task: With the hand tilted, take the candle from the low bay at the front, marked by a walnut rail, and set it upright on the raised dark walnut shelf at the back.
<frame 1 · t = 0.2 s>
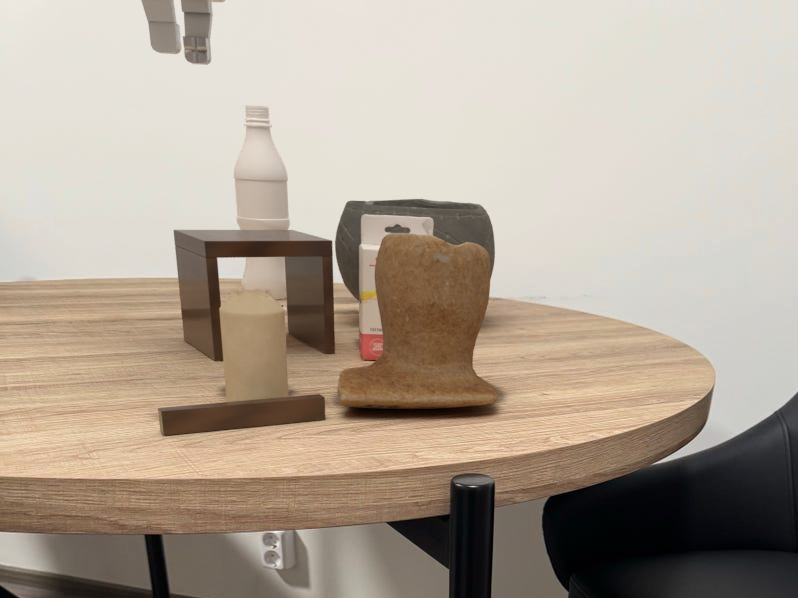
hand: (183, 58, 71), 27 cm above the table, tool pointing down, fingers open, 8 cm apart
bowl: (415, 325, 128), on the table
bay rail: (245, 425, 80), on the table
water bottle: (268, 307, 135), on the table
ink cartridge box: (397, 358, 108), on the table
shelf unit: (258, 346, 109), on the table
tan flared-base block: (415, 406, 89), on the table
candle: (258, 409, 86), on the table
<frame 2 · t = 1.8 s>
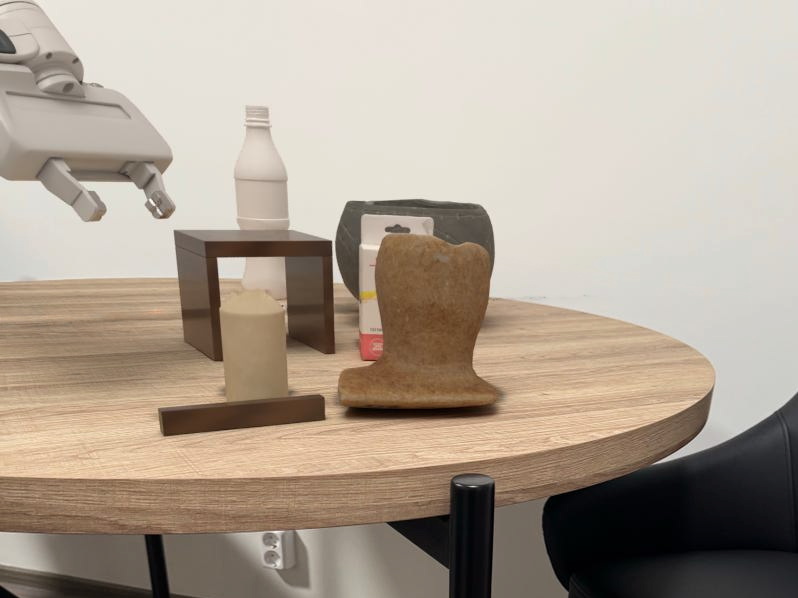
hand: (134, 215, 81), 15 cm above the table, tool tilted 45°, fingers open, 8 cm apart
nothing on the table moved.
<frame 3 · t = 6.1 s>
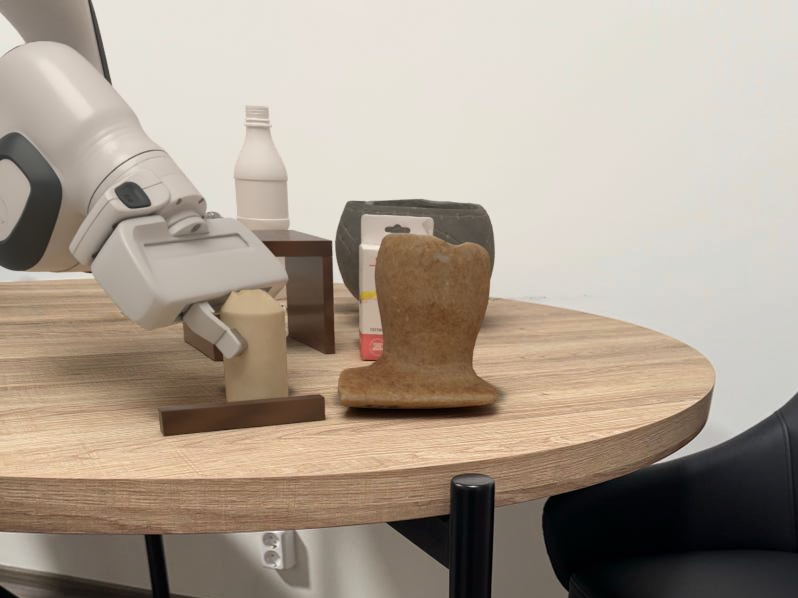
hand: (260, 346, 83), 5 cm above the table, tool tilted 45°, fingers closed on candle, 5 cm apart
candle: (258, 409, 86), on the table, touching gripper
everything else where it was.
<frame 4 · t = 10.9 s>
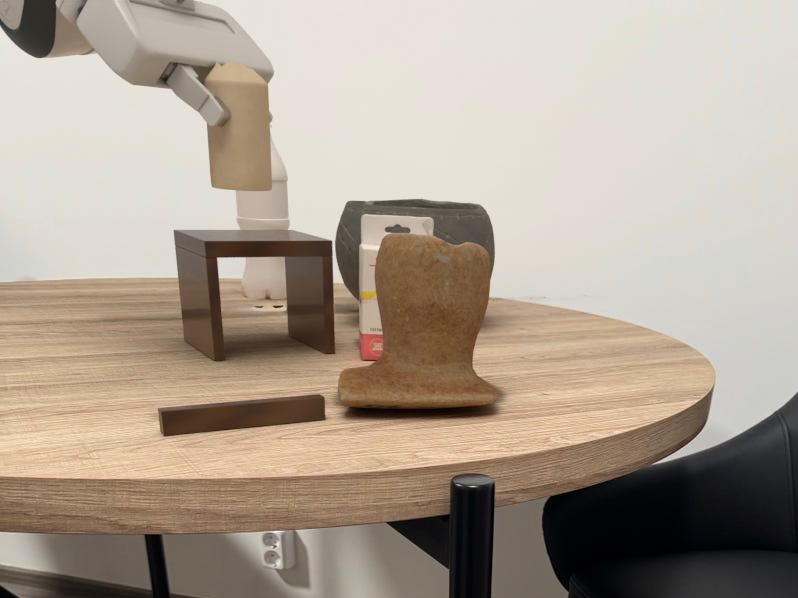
hand: (244, 123, 84), 23 cm above the table, tool tilted 45°, fingers closed on candle, 5 cm apart
candle: (242, 191, 87), point 17 cm above the table, touching gripper
everything else where it was.
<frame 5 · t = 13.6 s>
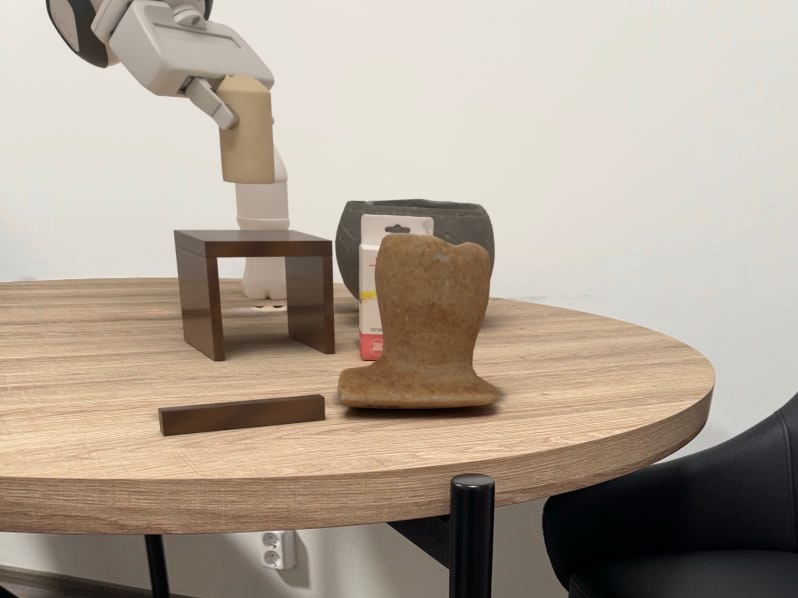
hand: (250, 126, 99), 23 cm above the table, tool tilted 45°, fingers closed on candle, 5 cm apart
candle: (249, 184, 101), point 17 cm above the table, touching gripper
everything else where it was.
when the fingers open (17 cm above the table, at t = 15.6 s): candle stays where it is, resting on shelf unit.
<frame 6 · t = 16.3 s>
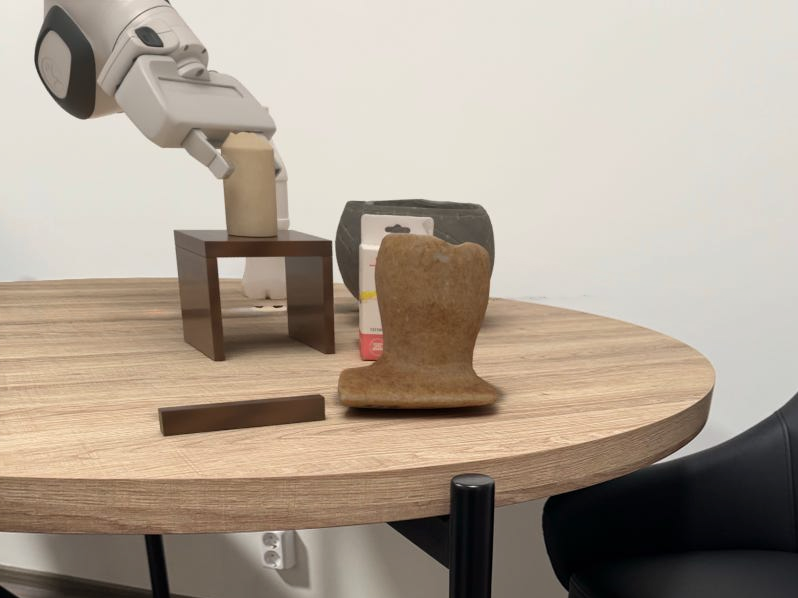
hand: (252, 174, 101), 18 cm above the table, tool tilted 45°, fingers open, 8 cm apart
candle: (252, 236, 104), point 12 cm above the table, touching shelf unit
everything else where it was.
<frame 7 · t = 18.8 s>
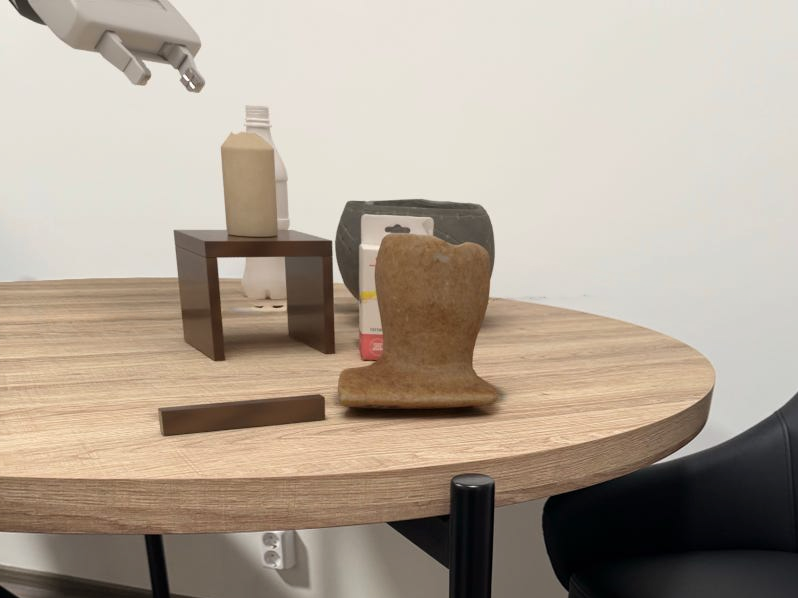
hand: (172, 84, 99), 26 cm above the table, tool tilted 45°, fingers open, 8 cm apart
nothing on the table moved.
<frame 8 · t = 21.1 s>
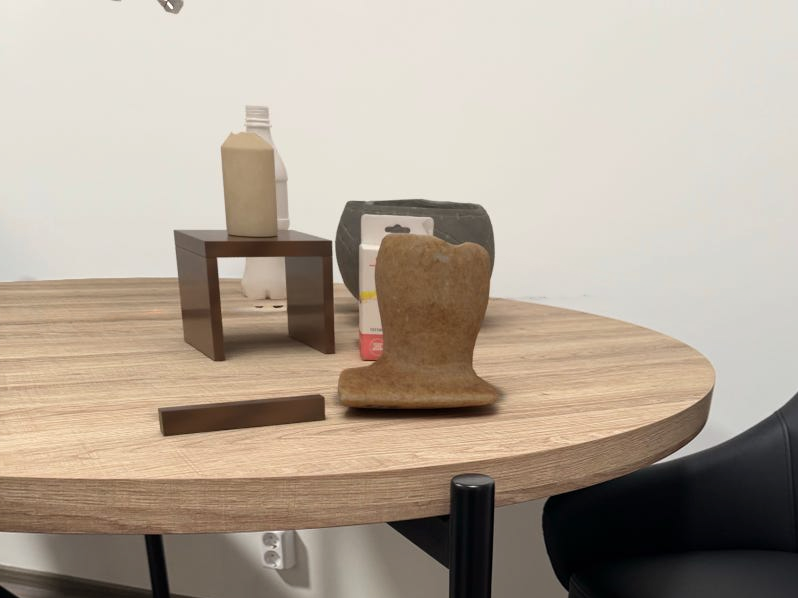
hand: (149, 2, 97), 33 cm above the table, tool tilted 45°, fingers open, 8 cm apart
nothing on the table moved.
at the end: candle inside the target area on the shelf unit (0.1 cm from its centre), point 11.8 cm above the shelf unit's base; candle tilted 0°; the gripper is holding nothing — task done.
